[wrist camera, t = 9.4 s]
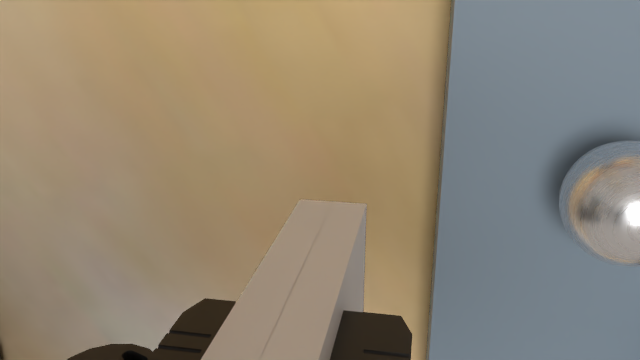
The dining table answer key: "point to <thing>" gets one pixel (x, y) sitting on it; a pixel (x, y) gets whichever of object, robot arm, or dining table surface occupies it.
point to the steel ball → (605, 203)
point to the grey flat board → (530, 181)
